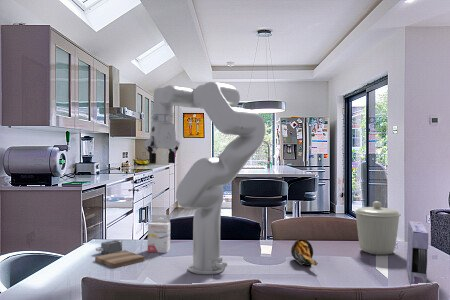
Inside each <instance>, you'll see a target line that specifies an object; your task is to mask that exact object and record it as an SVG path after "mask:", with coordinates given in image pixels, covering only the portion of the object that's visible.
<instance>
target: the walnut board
mask: <svg viewBox="0 0 450 300" xmlns="http://www.w3.org/2000/svg"><path fill="white" fill-rule="evenodd" d="M145 257H146V256H144V255H141V254H138V253H135V252H131V251H128V250H122V251H120V252H115V253H111V254H101V255H98V256H97V255H96V256H95V259H94V260H95V262H97V263H100V264H103V265H105V266H107V267H111V268H113V269H115V268H121V267H124V266H128V265H133V264H136V263H137V264H138V263H141V262H145V260H146V259H145Z"/></svg>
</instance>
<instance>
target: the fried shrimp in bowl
mask: <svg viewBox="0 0 450 300" xmlns="http://www.w3.org/2000/svg"><path fill="white" fill-rule="evenodd" d="M290 253H291V256H292V257H293V258H294V260H295V261H296V262H297V263H298V264H300V265H301V266H303V265H305V266H311V265H313V266H315V267H316V266H318V264H319V262H317V261H316V260H315V259H313V256H314V249H313V246H312V244H311V242H309V240H308V239H306V238H298V239H297V240H295V241H294V242H293V244H292V246H291V249H290Z"/></svg>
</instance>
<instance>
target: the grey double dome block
mask: <svg viewBox="0 0 450 300" xmlns="http://www.w3.org/2000/svg"><path fill="white" fill-rule="evenodd" d="M95 251H96V252H99V253H100V254H101V255H107V254H111V253H116V252H121V251H123V240H122V239H115V240H108V241H104V242H101V243H100V247H95Z"/></svg>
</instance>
